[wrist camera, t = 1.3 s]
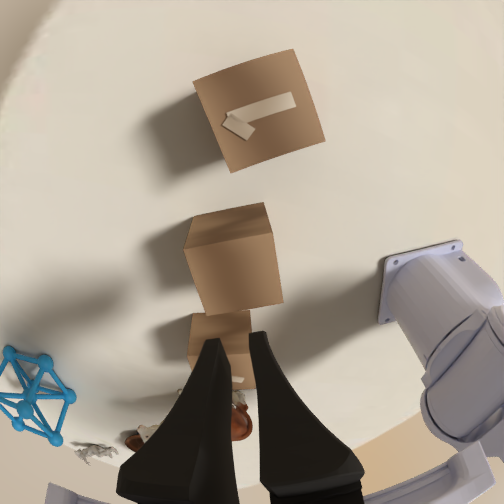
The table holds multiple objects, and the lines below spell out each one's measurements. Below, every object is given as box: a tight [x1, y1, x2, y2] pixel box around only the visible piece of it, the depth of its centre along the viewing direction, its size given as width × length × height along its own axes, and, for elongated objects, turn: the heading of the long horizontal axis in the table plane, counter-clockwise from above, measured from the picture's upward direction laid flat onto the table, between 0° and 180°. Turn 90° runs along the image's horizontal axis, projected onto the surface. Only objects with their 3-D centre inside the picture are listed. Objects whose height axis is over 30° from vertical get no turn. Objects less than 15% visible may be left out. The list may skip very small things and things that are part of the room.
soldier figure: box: [74, 445, 118, 465], centre depth 41 cm, size 8×5×12 cm
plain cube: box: [183, 202, 283, 316], centre depth 19 cm, size 5×5×5 cm
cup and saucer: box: [125, 435, 144, 452], centre depth 37 cm, size 12×12×6 cm
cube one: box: [193, 49, 325, 173], centre depth 14 cm, size 5×5×5 cm
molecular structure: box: [0, 346, 77, 447], centre depth 24 cm, size 10×10×10 cm
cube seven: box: [187, 310, 256, 390], centre depth 23 cm, size 5×5×5 cm
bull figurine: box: [137, 389, 253, 443], centre depth 27 cm, size 4×13×8 cm, turn 102°
